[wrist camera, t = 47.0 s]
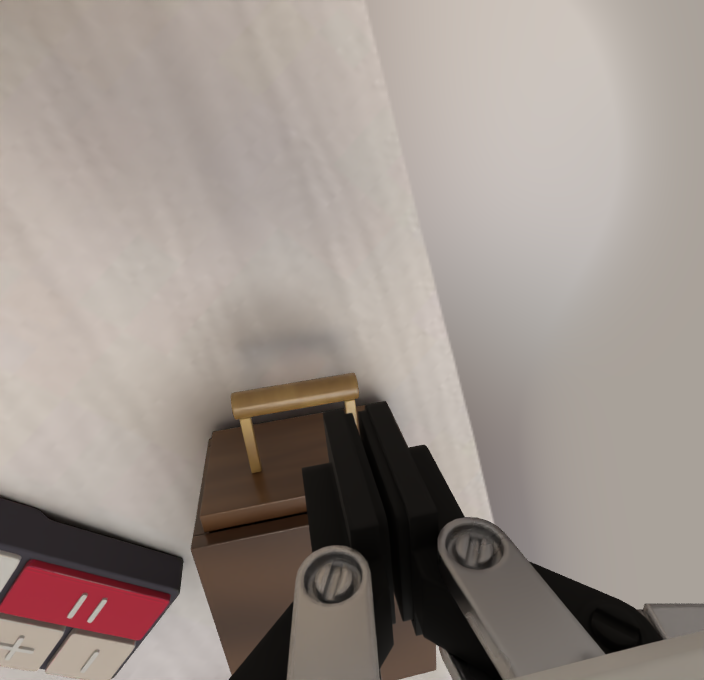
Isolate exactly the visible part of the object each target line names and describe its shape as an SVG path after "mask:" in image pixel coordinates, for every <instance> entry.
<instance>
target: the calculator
mask: <svg viewBox="0 0 704 680" xmlns="http://www.w3.org/2000/svg"><path fill="white" fill-rule="evenodd" d="M182 569H183V560H182V559H181V558H178V557H175V556H171V555H168V554H164V553H161V552H158V551H154V550H151V549H147V548H144V547H140V546H137V545H134V544H130V543H127V542H123V541H120V540H117V539H113V538H110V537H106V536H103V535H100V534H96V533H93V532H89V531H86V530H82V529H79V528H76V527H72V526H69V525H65V524H62V523H59V522H55V521H52V520H49V519H48V518H47V517H46V516H45V515H44V514H43V513H42V512H41V511H40V510H39V509H36V508H33V507H29V506H26V505H23V504H19V503H16V502H13V501H9V500H6V499H3V498H0V666H1V667H7V668H13V669H19V670H26V671H37V670H38V669H46V670H45V673H47V674H51V675H57V676H63V677H70V678H76V679H82V680H110V679H112V678H114V677H115V676H116V674H117V673H118V672H119V670H120V669H121V668H122V667H123V665H124V664H125V663H126V662H127V660H128V659H129V658H130V656H131V655H132V654H133V653H134V651H135V650H136V649H137V647H138V646H139V645H140V644H141V642H142V641H143V640H144V639H145V637H146V636H147V635H148V633H149V632H150V631H151V630H152V628H153V627H154V626H155V624H156V623H157V622H158V621H159V619H160V618H161V617H162V615H163V614H164V613H165V612H166V610H167V609H168V608H169V607H170V605H171V604H172V603H173V601H174V600H175V599H176V598H177V596H178V595H179V593H180V586H181V578H182Z"/></svg>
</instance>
